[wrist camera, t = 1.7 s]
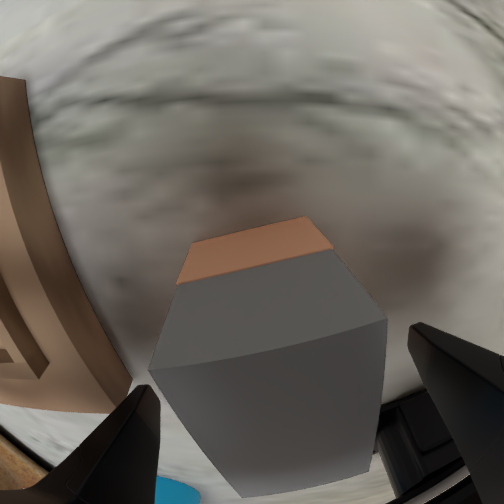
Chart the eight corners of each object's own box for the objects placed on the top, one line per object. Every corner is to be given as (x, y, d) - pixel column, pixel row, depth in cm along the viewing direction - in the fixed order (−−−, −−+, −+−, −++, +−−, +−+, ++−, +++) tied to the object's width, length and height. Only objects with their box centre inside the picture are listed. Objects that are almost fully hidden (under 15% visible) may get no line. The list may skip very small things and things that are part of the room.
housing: (325, 351, 14) (369, 471, 7) (237, 371, 14) (240, 498, 7) (305, 215, 11) (390, 314, 5) (192, 242, 11) (144, 368, 5)
